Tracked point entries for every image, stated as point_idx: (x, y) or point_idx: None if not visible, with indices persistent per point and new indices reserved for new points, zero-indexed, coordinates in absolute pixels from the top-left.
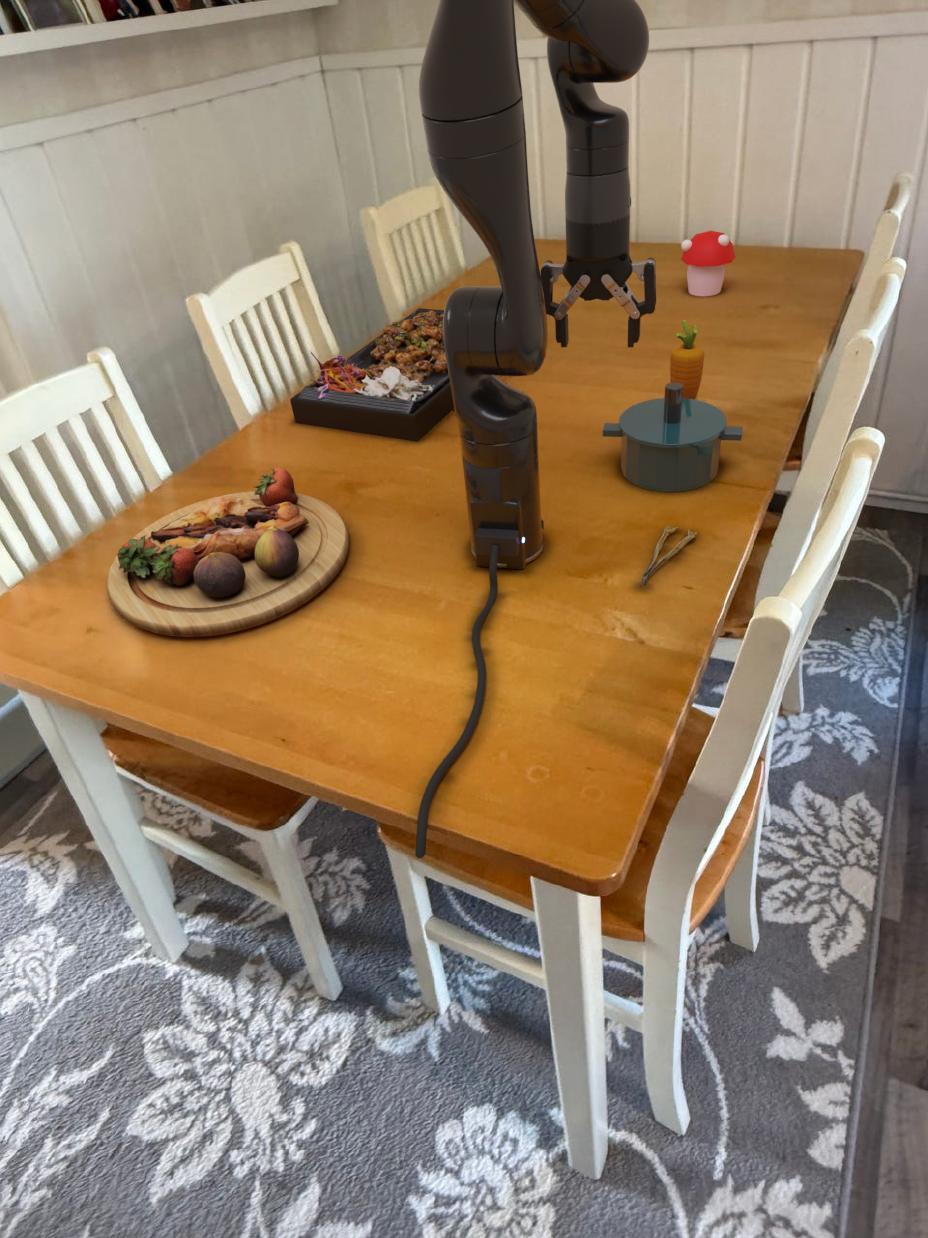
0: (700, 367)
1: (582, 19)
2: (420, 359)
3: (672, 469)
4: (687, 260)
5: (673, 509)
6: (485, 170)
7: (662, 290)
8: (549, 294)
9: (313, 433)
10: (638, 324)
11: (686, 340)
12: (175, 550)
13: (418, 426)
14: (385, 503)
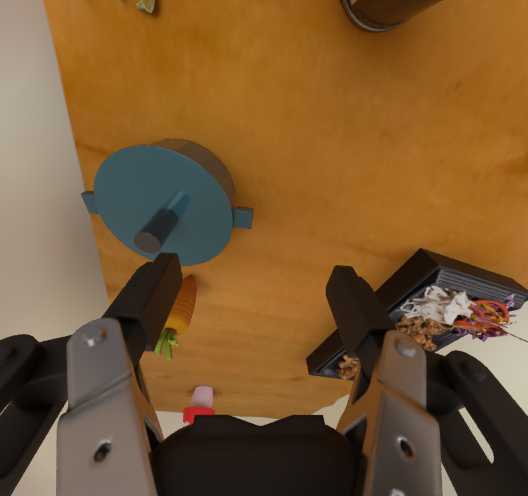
0: None
1: None
2: None
3: (163, 143)
4: (210, 410)
5: (163, 92)
6: None
7: (227, 390)
8: (523, 464)
9: (505, 263)
10: (114, 303)
11: (168, 336)
12: None
13: (425, 259)
14: (508, 121)
